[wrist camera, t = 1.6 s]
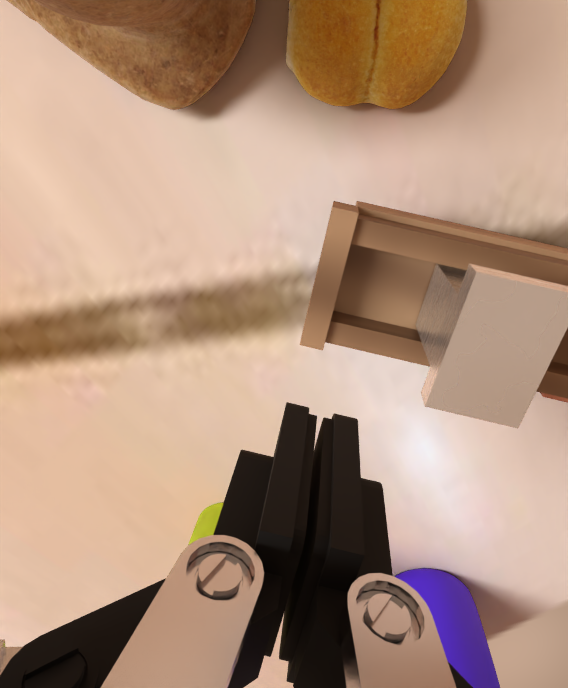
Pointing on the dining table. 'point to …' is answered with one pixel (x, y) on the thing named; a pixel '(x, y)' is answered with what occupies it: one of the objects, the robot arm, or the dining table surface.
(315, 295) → the beam
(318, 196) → the dining table surface
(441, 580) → the bottle
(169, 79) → the stone cup
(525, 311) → the rider
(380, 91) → the bread roll
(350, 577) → the robot arm
